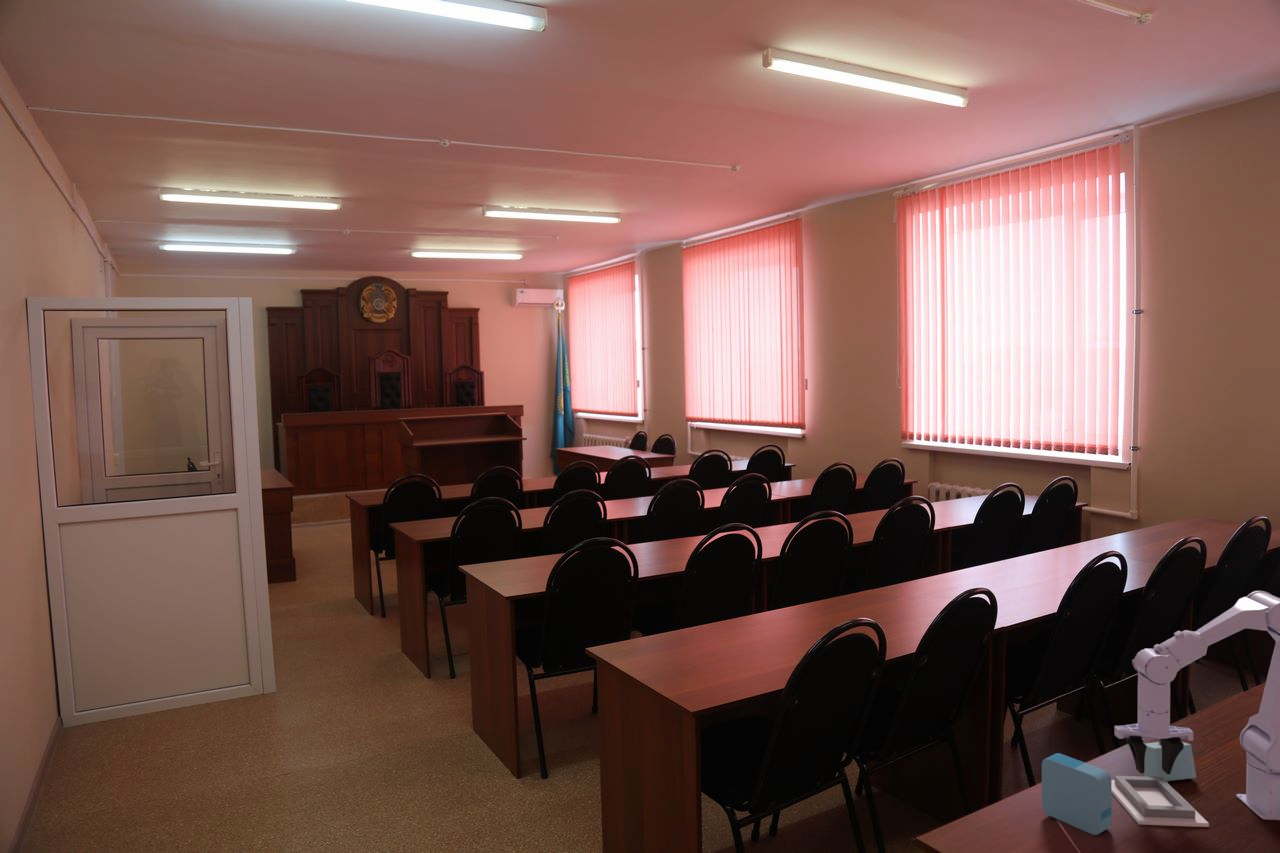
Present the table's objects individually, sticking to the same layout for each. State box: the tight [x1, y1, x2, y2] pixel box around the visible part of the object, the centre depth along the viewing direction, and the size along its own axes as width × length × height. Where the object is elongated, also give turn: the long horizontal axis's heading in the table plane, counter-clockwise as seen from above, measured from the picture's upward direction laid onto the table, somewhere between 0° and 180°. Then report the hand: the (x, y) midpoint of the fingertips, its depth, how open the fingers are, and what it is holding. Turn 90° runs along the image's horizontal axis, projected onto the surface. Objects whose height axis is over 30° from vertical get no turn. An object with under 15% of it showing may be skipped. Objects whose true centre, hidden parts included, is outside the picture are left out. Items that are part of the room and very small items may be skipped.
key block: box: [1143, 738, 1197, 782], centre depth 185 cm, size 4×9×8 cm, turn 99°
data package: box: [1041, 752, 1112, 836], centre depth 168 cm, size 12×4×12 cm, turn 33°
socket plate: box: [1111, 775, 1210, 828], centre depth 174 cm, size 17×13×2 cm
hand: (1153, 771), depth 174 cm, fingers open, 4 cm apart
